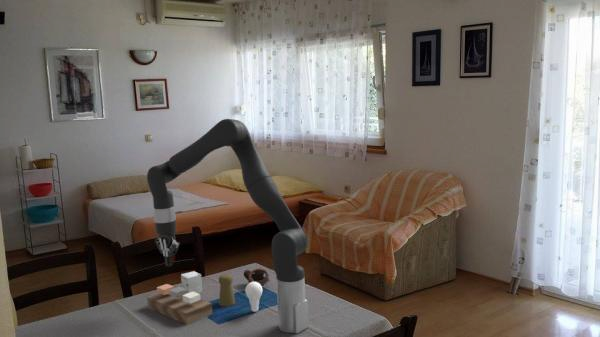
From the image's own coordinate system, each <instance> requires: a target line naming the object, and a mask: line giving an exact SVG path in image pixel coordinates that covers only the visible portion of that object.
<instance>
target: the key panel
mask: <svg viewBox="0 0 600 337" xmlns="http://www.w3.org/2000/svg"><path fill="white" fill-rule="evenodd" d="M146 299H147V308H148V309H150V310H153V311H155V312H157V313H160V314H161V315H164V316H166V317H168V318H171V319H174V320H175V321H178V322H180V323H181V324H185V325H190V324H192V323H195V322H197V321H199V320H202V319H204V318H206V317H208V316H211V315H213V303H212V302H210V301H206V300H204V299H202V298H201V300H199V301H196V302H194V303H191V304H190V303H188V302H185V301H183V296H182V297H179V298H175V297H172V296H170V293H169V294H166V295H162V294H160V293H157V292H156V293H155V294H153V295H149V296H147V297H146Z"/></svg>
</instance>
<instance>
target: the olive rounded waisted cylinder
mask: <svg viewBox="0 0 600 337" xmlns="http://www.w3.org/2000/svg"><path fill="white" fill-rule="evenodd" d="M233 277H234V276H232V275H231V274H229V273H223V274H221V275H219V277H218V283H219V287H220V288H219V300H218V305H219V306H221V307H231V305H232V306H234V305H235V304H236V300H235V293H234V289H233V280H234V279H233ZM233 304H234V305H233Z"/></svg>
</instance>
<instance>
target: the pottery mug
mask: <svg viewBox="0 0 600 337" xmlns="http://www.w3.org/2000/svg"><path fill="white" fill-rule="evenodd" d="M264 275H265V276H264ZM243 276H244V278H245V279H246V280H247V282H248V284H249V283H251V282H258V283H259V284H260V285H261V286H262V287H264V286H265V285H266V284H267V283H268V282H270V281H271V280H270V278H269V277H270V274H268V272H267V270H266V269H264V268H260V267H259V268H253V269H252V270H250V269H248V270H247V269H246V270H244V271H243Z"/></svg>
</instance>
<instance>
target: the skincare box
mask: <svg viewBox="0 0 600 337" xmlns="http://www.w3.org/2000/svg"><path fill="white" fill-rule="evenodd" d="M180 279H181V280H180V281H181V282H180V283H181V287H182V288H185V289H187V293H190V292H196V293H198V294H201V293H203V286H202V285H203V284H202V274H201V273H198V272H196V271H194V270H193V271H190V272H185V273H181V274H180Z"/></svg>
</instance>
